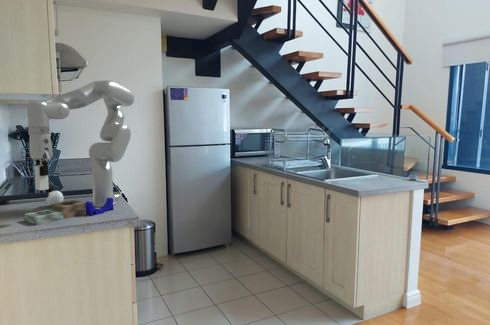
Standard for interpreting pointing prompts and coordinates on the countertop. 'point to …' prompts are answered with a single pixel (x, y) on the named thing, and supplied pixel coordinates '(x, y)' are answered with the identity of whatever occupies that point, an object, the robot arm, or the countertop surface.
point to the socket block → (57, 212)
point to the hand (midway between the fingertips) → (41, 174)
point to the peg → (40, 180)
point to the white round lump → (54, 197)
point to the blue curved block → (107, 207)
